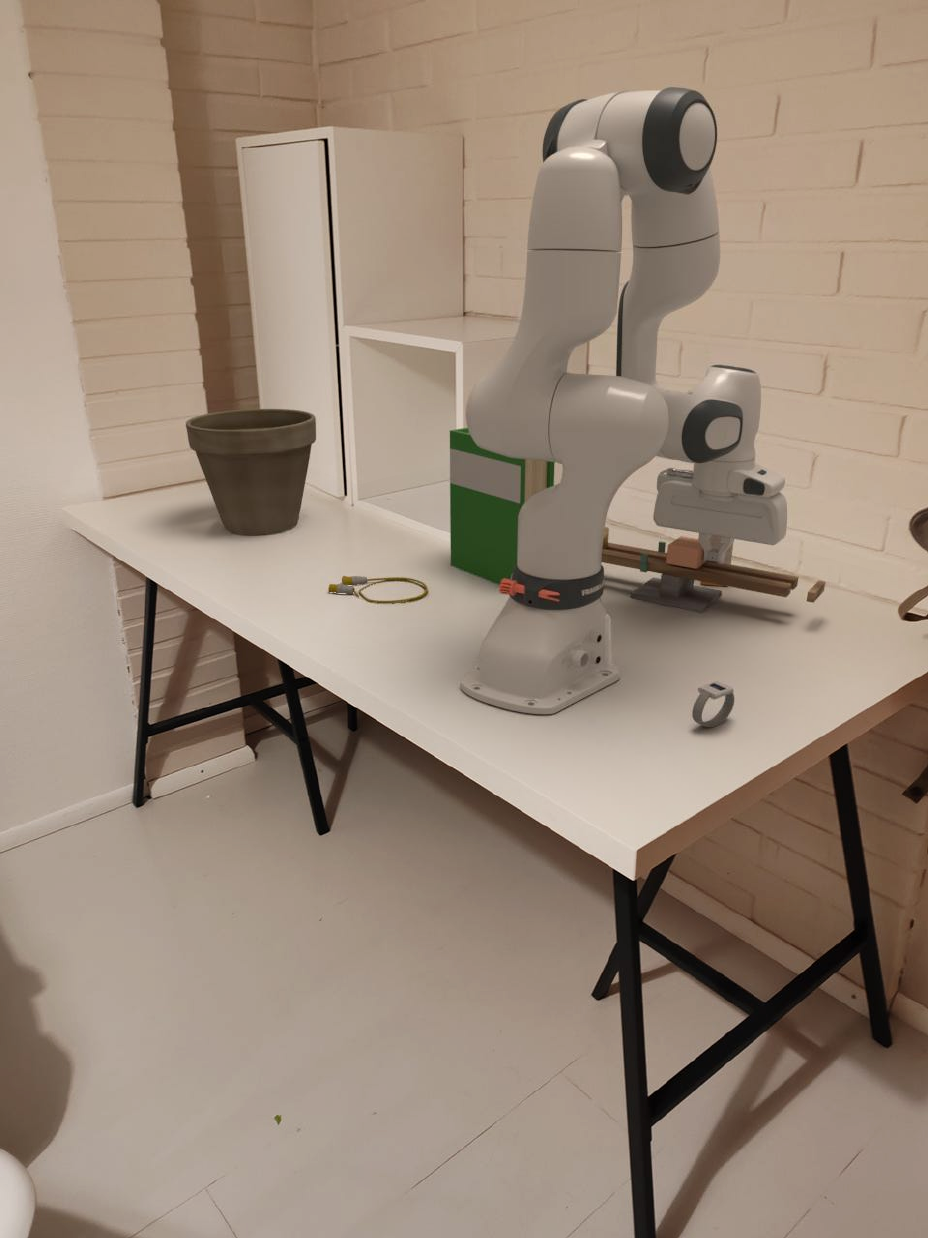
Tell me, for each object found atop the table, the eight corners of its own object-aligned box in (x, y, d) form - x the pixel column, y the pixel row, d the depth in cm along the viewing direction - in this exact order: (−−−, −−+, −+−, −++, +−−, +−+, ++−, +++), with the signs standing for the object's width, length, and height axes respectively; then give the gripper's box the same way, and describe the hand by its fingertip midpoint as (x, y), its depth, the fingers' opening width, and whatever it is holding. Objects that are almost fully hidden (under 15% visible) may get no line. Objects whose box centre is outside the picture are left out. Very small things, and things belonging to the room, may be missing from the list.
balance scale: (806, 634, 141) (814, 576, 138) (544, 579, 164) (545, 528, 160) (822, 615, 148) (830, 559, 145) (568, 565, 171) (570, 516, 167)
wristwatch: (703, 736, 113) (707, 698, 111) (685, 727, 115) (689, 690, 113) (737, 722, 116) (742, 684, 114) (719, 713, 118) (723, 676, 117)
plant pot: (187, 516, 200) (175, 411, 192) (302, 503, 210) (295, 403, 202) (211, 550, 179) (198, 434, 171) (337, 533, 189) (331, 423, 181)
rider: (695, 578, 150) (698, 550, 148) (665, 572, 153) (667, 544, 151) (708, 568, 154) (710, 541, 153) (678, 563, 157) (680, 536, 155)
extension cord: (369, 574, 168) (368, 563, 167) (442, 591, 160) (442, 580, 159) (321, 594, 159) (321, 583, 158) (396, 614, 150) (396, 602, 150)
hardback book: (550, 582, 163) (555, 440, 154) (518, 592, 158) (521, 447, 149) (482, 557, 175) (483, 425, 166) (450, 565, 171) (449, 430, 162)
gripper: (650, 469, 148) (643, 555, 153) (783, 488, 138) (771, 579, 143) (666, 462, 153) (659, 545, 158) (795, 479, 143) (784, 567, 148)
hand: (713, 561), depth 150 cm, fingers closed
